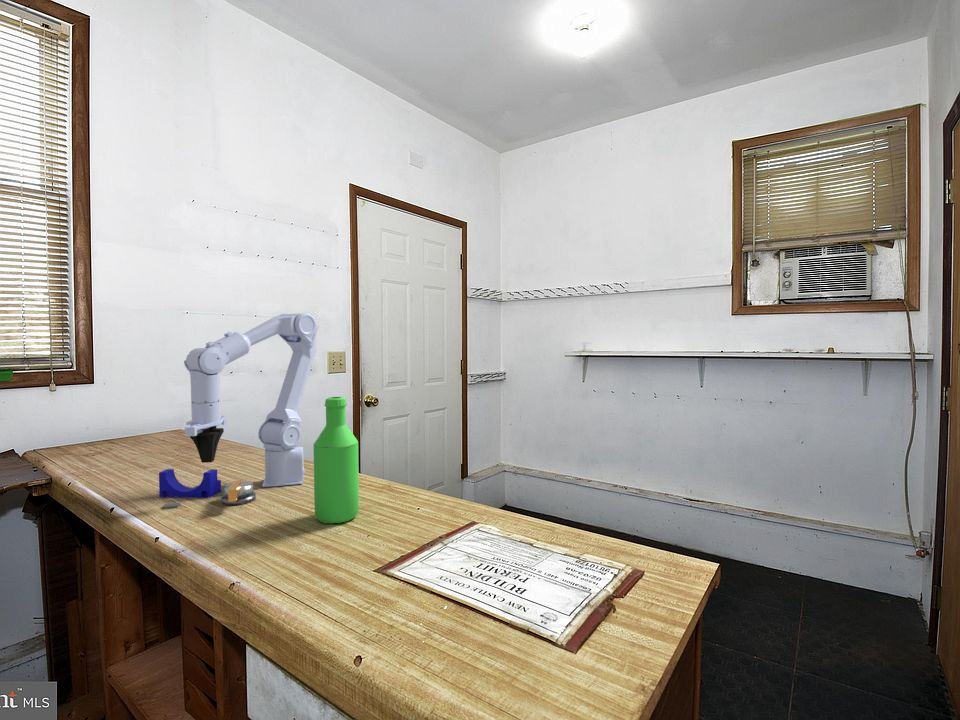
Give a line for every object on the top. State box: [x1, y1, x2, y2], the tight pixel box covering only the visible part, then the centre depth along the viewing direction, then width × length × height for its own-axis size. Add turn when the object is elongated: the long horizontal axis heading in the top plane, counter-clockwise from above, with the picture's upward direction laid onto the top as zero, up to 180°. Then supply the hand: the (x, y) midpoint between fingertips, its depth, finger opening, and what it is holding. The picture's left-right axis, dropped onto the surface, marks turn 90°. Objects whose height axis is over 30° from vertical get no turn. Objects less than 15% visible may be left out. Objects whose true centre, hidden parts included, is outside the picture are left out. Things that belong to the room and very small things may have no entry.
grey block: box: [161, 502, 181, 510], centre depth 106 cm, size 3×2×1 cm, turn 109°
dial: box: [223, 479, 254, 502], centre depth 108 cm, size 12×6×4 cm, turn 18°
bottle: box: [313, 396, 360, 524], centre depth 99 cm, size 9×9×25 cm
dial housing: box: [221, 491, 257, 507], centre depth 110 cm, size 7×7×1 cm
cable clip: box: [158, 468, 222, 499], centre depth 115 cm, size 12×4×6 cm, turn 89°
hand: (207, 461), depth 108 cm, fingers closed
